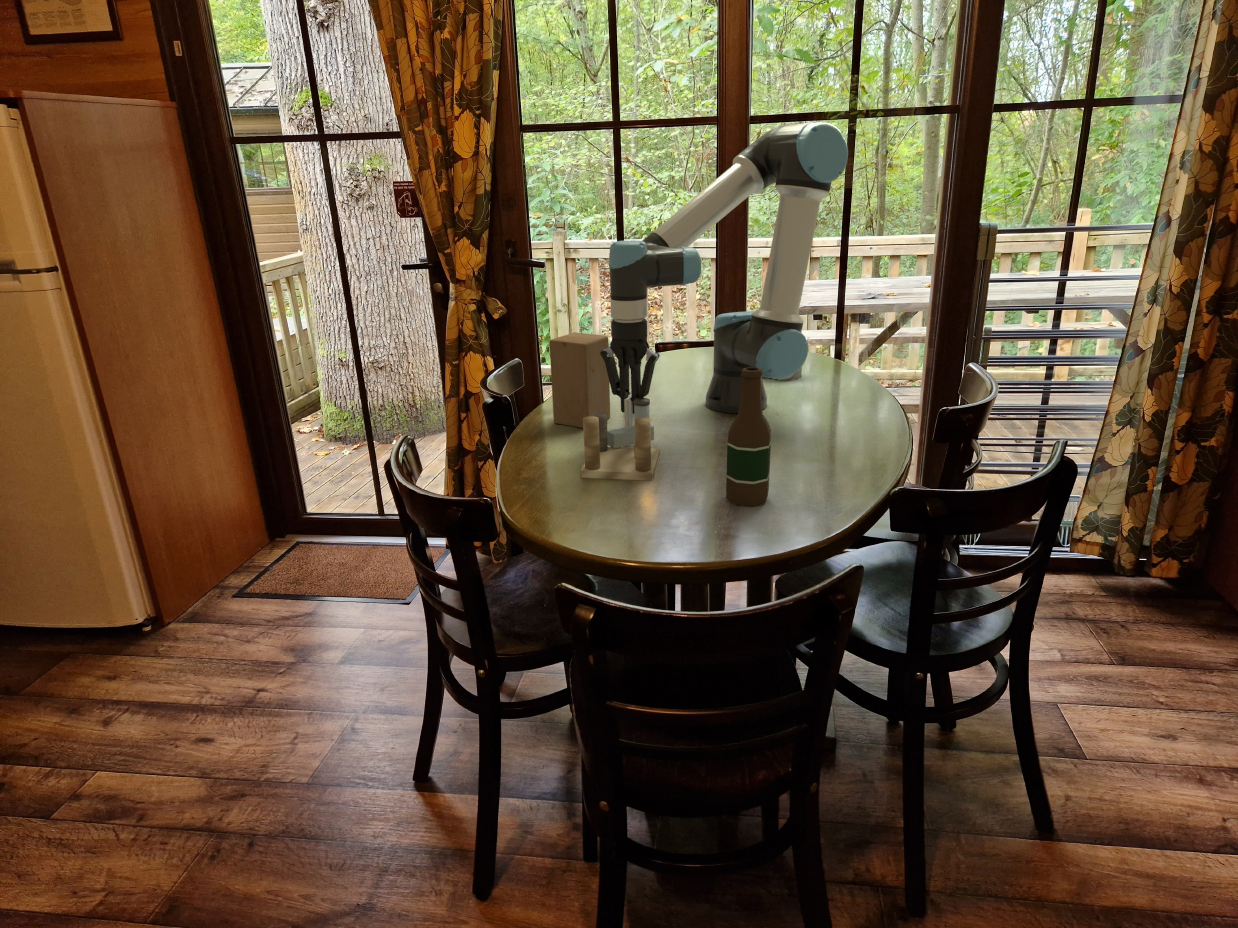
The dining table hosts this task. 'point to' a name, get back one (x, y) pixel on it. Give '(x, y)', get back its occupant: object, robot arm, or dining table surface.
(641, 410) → the hinged leg
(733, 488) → the beer bottle
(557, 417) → the wooden block
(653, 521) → the dining table surface
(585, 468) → the wooden twin post stand
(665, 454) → the dining table surface
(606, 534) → the dining table surface
